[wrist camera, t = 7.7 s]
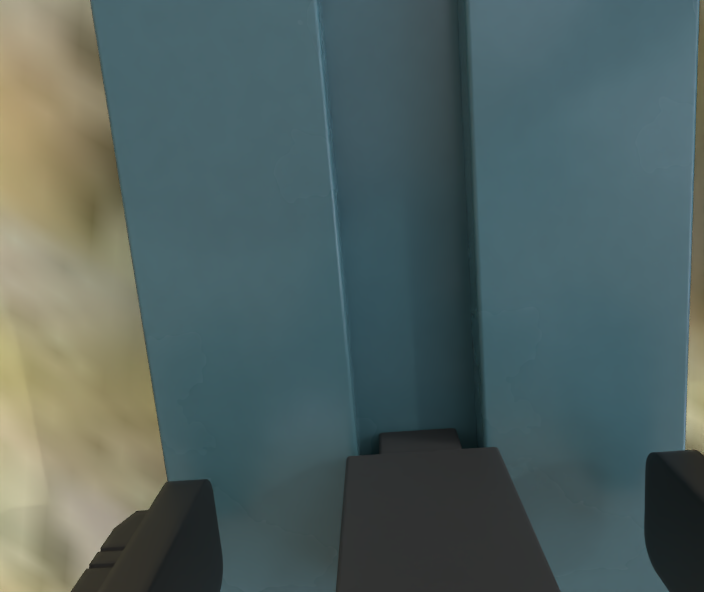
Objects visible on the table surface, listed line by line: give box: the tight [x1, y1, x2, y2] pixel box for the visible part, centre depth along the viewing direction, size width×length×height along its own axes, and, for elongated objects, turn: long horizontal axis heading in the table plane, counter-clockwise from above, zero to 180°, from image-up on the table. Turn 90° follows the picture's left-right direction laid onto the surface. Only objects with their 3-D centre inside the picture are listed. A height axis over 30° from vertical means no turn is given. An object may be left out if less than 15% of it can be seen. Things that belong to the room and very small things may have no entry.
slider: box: [336, 428, 561, 592], centre depth 10 cm, size 3×3×6 cm
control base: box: [90, 0, 700, 592], centre depth 13 cm, size 16×10×5 cm, turn 5°
